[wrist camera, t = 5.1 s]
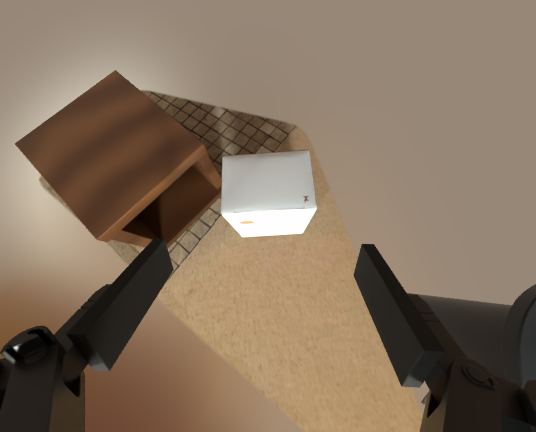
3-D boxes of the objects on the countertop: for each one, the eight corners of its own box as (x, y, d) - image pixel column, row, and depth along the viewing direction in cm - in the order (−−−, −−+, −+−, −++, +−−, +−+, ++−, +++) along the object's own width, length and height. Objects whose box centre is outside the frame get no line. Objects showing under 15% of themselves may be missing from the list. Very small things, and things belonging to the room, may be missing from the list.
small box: (299, 194, 28) (312, 147, 18) (303, 234, 27) (319, 208, 17) (240, 197, 28) (220, 153, 18) (241, 238, 27) (219, 214, 17)
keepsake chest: (228, 188, 29) (204, 143, 19) (162, 253, 27) (96, 240, 17) (164, 133, 32) (115, 69, 22) (100, 187, 30) (13, 143, 20)
